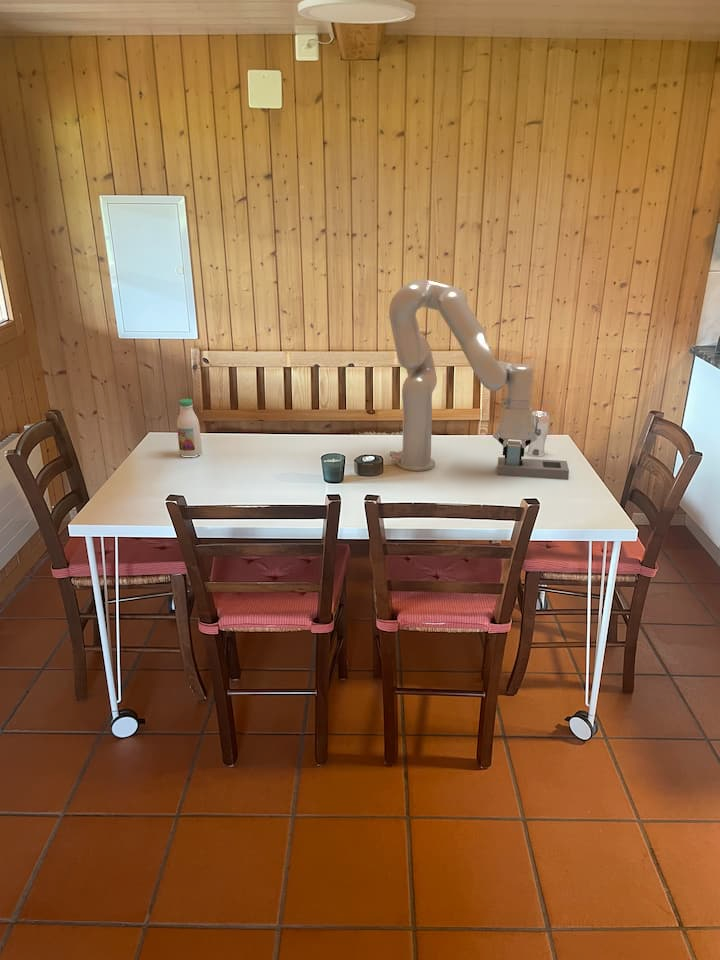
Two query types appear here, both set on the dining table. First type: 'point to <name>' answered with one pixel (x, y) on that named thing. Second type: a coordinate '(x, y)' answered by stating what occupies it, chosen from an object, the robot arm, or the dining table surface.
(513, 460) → the plug
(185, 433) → the milk bottle
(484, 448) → the dining table surface
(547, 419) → the beer glass
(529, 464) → the panel
